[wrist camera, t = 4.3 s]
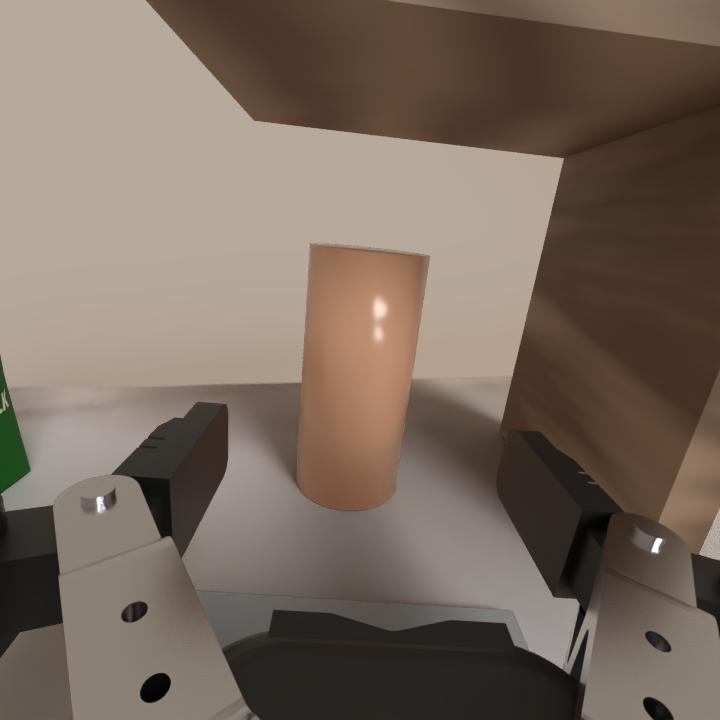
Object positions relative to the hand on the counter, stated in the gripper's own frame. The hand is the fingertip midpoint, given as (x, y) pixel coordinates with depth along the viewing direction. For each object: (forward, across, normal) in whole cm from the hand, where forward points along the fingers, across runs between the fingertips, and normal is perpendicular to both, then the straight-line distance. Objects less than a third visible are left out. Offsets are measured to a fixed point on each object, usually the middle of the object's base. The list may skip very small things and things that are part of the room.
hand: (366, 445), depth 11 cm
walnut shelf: (+9, -3, +7) cm, 11 cm away
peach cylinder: (+9, 0, +7) cm, 11 cm away
